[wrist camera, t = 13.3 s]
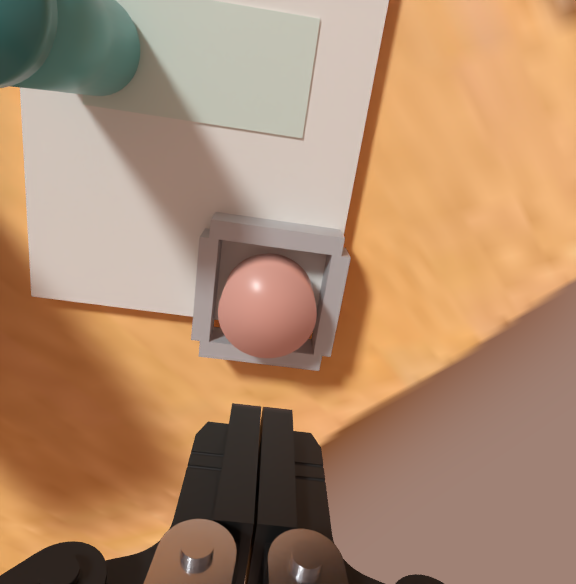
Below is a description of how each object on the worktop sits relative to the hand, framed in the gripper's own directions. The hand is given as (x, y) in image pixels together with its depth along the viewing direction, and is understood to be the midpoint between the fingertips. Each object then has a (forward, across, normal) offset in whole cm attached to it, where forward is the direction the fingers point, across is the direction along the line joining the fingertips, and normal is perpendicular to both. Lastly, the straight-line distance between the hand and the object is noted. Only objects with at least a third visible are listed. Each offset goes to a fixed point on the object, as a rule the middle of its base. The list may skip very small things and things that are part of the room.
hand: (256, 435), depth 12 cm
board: (+12, +4, -7) cm, 14 cm away
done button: (+10, 0, 0) cm, 10 cm away
